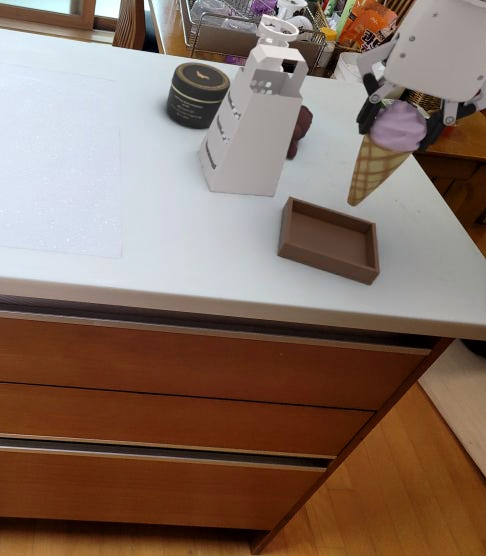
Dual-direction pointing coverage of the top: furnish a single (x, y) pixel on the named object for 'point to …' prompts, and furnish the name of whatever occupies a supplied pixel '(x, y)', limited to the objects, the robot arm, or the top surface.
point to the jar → (196, 94)
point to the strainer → (273, 43)
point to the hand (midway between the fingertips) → (390, 137)
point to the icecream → (300, 129)
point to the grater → (254, 126)
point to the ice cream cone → (386, 147)
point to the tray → (329, 240)
